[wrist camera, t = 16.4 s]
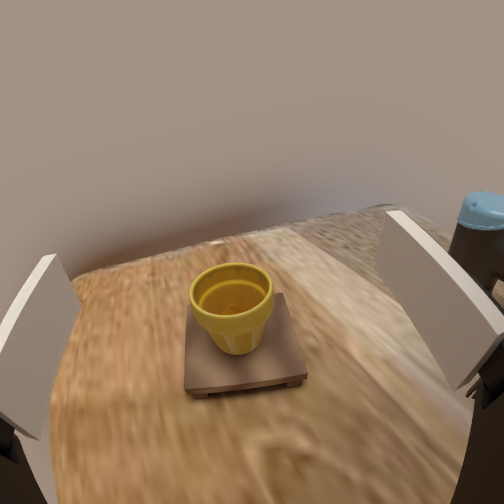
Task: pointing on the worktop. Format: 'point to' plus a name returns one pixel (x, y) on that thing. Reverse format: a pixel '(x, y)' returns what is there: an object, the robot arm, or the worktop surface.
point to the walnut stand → (243, 357)
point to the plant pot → (233, 305)
